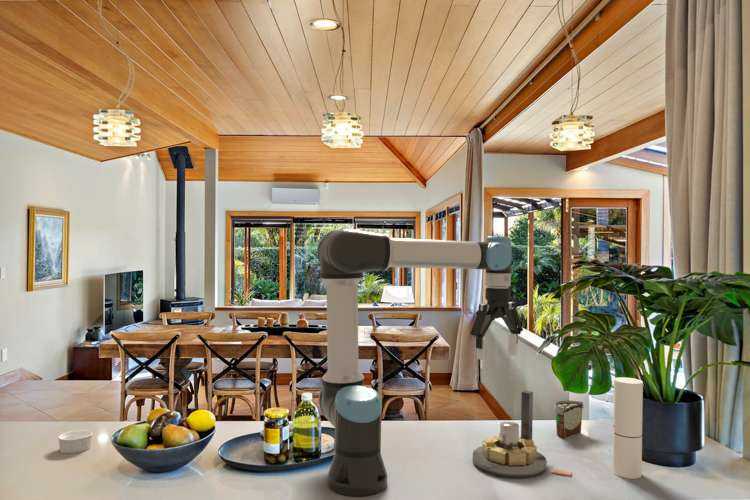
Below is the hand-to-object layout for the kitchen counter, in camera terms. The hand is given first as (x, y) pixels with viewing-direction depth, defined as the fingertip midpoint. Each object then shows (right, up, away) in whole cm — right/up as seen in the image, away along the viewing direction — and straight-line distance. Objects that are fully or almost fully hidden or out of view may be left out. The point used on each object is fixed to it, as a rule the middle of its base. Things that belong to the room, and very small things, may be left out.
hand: (497, 357), depth 170 cm
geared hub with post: (+2, -25, -12) cm, 28 cm away
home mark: (+13, -27, -20) cm, 36 cm away
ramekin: (-125, -26, -6) cm, 127 cm away
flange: (0, -27, -14) cm, 30 cm away
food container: (+25, -27, +12) cm, 39 cm away
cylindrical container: (+31, -28, -19) cm, 46 cm away
